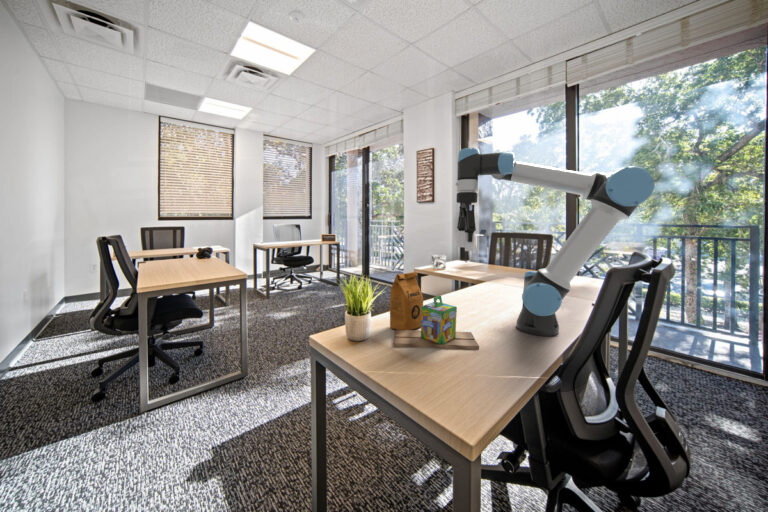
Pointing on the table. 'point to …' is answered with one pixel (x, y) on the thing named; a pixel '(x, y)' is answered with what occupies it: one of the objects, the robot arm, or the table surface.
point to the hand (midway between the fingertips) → (464, 249)
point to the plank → (418, 334)
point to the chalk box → (438, 321)
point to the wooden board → (429, 344)
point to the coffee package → (405, 302)
